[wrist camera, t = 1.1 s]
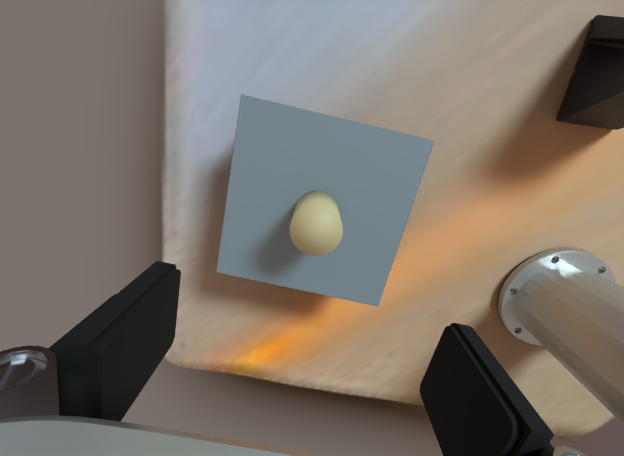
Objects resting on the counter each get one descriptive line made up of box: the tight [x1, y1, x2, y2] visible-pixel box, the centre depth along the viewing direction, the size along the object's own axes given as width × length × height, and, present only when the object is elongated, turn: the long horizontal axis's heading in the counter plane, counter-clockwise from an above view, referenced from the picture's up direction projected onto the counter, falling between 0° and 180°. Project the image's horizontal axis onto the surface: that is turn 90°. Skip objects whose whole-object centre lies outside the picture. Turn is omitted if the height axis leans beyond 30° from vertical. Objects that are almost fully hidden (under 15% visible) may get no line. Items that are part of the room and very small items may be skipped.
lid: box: [216, 94, 434, 306], centre depth 24 cm, size 15×15×6 cm
